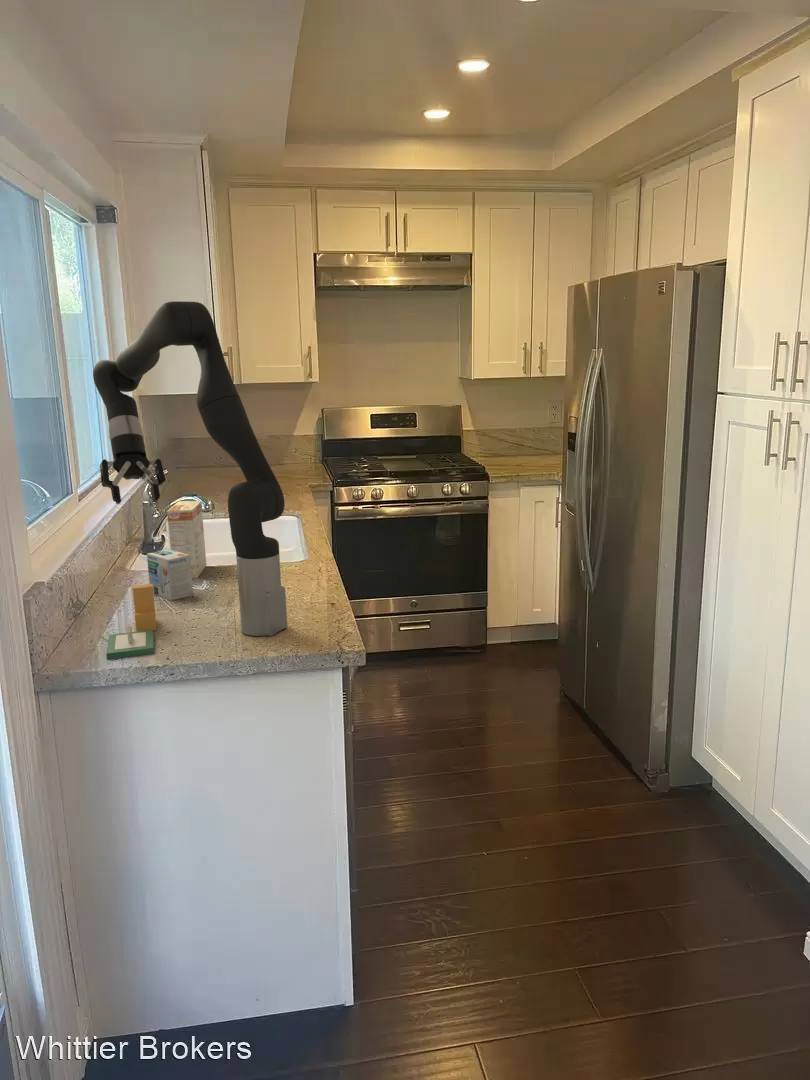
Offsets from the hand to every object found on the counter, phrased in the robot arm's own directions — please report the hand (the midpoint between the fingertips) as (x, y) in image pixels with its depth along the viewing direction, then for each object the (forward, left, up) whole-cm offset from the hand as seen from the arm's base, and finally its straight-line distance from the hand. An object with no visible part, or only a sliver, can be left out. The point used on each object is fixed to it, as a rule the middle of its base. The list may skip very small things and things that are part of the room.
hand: (137, 502), depth 182 cm
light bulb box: (+4, -12, -27) cm, 30 cm away
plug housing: (-8, +9, -26) cm, 29 cm away
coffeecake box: (+15, -31, -27) cm, 44 cm away
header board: (-16, +21, -26) cm, 37 cm away
